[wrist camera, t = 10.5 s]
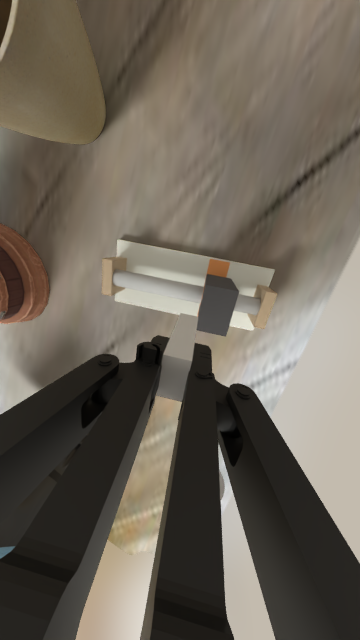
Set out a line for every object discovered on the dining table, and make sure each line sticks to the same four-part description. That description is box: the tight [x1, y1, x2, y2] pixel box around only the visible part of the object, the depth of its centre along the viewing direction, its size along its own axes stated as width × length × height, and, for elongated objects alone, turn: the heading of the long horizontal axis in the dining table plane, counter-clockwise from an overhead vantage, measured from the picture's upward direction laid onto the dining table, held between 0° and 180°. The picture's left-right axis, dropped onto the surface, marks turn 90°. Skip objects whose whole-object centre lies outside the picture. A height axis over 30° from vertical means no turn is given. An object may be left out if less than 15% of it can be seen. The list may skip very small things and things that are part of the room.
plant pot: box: [0, 0, 106, 144], centre depth 18 cm, size 15×15×16 cm
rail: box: [102, 239, 277, 331], centre depth 29 cm, size 24×10×6 cm, turn 80°
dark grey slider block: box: [197, 274, 239, 336], centre depth 25 cm, size 4×5×9 cm, turn 170°
